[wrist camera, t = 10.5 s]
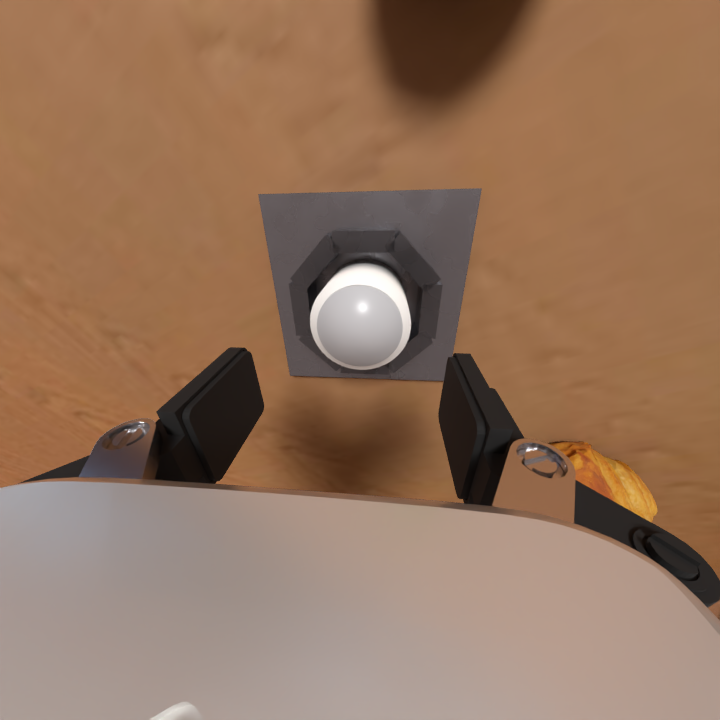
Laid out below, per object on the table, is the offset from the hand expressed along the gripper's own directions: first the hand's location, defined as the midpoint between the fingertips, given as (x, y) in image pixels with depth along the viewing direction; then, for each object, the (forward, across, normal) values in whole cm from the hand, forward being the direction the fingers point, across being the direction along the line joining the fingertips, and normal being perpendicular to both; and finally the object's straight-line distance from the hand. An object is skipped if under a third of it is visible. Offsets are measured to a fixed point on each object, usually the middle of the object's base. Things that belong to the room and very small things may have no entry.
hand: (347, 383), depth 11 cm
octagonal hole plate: (+12, 0, 0) cm, 12 cm away
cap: (+11, 0, 0) cm, 11 cm away
